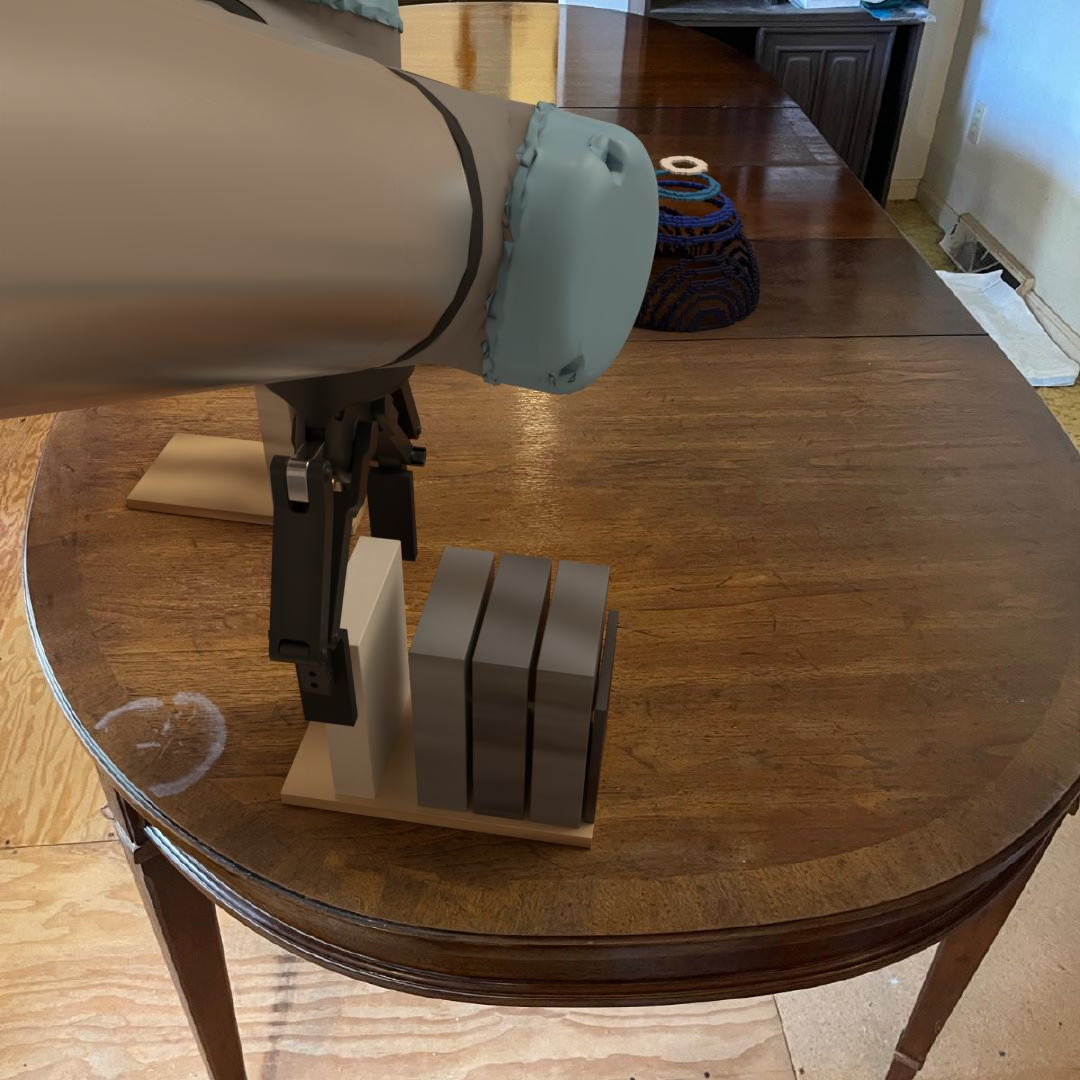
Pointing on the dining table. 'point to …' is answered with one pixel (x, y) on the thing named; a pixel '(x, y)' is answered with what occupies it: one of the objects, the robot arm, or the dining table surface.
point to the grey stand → (493, 705)
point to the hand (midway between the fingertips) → (366, 630)
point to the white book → (372, 666)
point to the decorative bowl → (700, 254)
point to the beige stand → (224, 471)
